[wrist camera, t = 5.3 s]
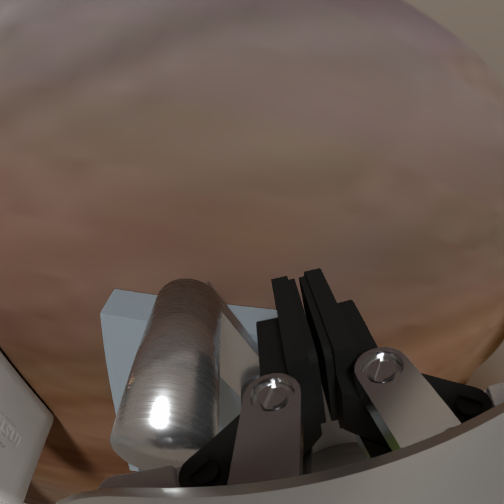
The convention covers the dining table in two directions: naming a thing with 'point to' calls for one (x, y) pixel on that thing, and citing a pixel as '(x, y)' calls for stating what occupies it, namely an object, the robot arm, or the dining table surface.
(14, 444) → the photo printer
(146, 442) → the hinged leg
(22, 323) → the dining table surface
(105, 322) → the stool frame
